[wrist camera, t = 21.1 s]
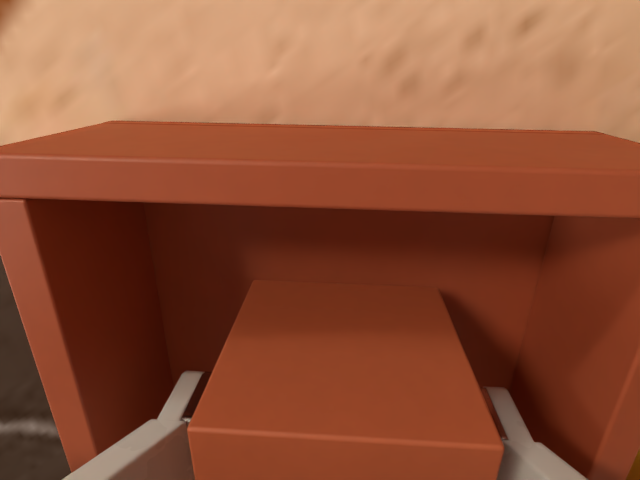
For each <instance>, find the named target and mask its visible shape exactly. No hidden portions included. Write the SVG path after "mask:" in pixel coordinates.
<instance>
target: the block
mask: <svg viewBox="0 0 640 480" xmlns="http://www.w3.org/2000/svg"><path fill="white" fill-rule="evenodd" d="M187 433H188V439H189V446H190V452H191V458H192V465H193V471H194V477H195V480H497V476H498V473H499V469H500V465H501V461H502V457H503V454H504V445H503V442H502V440H501V438H500V435H499V433H498V430H497V428H496V426H495V423H494V421H493V418H492V416H491V414H490V411H489V409H488V406H487V404H486V402H485V399H484V397H483V394H482V392H481V390H480V387H479V385H478V382H477V380H476V378H475V375H474V373H473V370H472V368H471V365H470V363H469V361H468V358H467V356H466V353H465V351H464V349H463V346H462V344H461V341H460V339H459V337H458V334H457V332H456V329H455V327H454V325H453V322H452V320H451V317H450V315H449V313H448V310H447V308H446V305H445V303H444V301H443V298H442V296H441V293H440V291H439V289H438V288H436V287H415V286H390V285H365V284H341V283H316V282H291V281H266V280H254V281H253V282H252V284H251V286H250V289H249V291H248V293H247V295H246V298H245V300H244V302H243V304H242V307H241V309H240V311H239V313H238V316H237V318H236V320H235V322H234V325H233V327H232V329H231V331H230V333H229V336H228V338H227V340H226V342H225V345H224V347H223V349H222V351H221V354H220V356H219V358H218V360H217V363H216V365H215V367H214V369H213V372H212V374H211V376H210V378H209V381H208V383H207V385H206V387H205V390H204V392H203V394H202V396H201V398H200V401H199V403H198V405H197V407H196V410H195V412H194V414H193V416H192V419H191V421H190V423H189V425H188V428H187Z"/></svg>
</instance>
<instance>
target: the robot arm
mask: <svg viewBox="0 0 640 480" xmlns="http://www.w3.org/2000/svg"><path fill="white" fill-rule="evenodd" d="M211 374H212V372H206V371H205V372H201V371H188V370H186V371H185V372H184V373H182V374H181V376H180V378H179V380H178V382H177V384H176V385H175V387H174V389H173V391H172V393H171V395H170V396H169V398H168V400H167V402H166V404H165V405H164V407H163V409H162V411H161V413H160V415H159V416H158V418H157V419H151V420H149V421H148V422H146V423H145V424H143V425H142V426H140V427H139V428H137V429H136V430H134V431H133V432H131V433H130V434H128V435H127V436H125V437H124V438H123V439H121V440H120V441H118V442H117V443H115V444H114V445H112V446H111V447H109V448H108V449H106V450H105V451H103V452H102V453H100V454H99V455H97V456H96V457H95V458H93V459H92V460H90V461H89V462H87V463H86V464H84V465H83V466H81V467H80V468H78V469H77V470H75V471H74V472H72V473H71V474H69V475H68V476H67V477H65V478H64V479H62V480H195V477H194V471H193V465H192V458H191V452H190V446H189V439H188V433H187V428H188V425H189V423H190V421H191V419H192V416H193V414H194V412H195V410H196V407H197V405H198V403H199V401H200V398H201V396H202V394H203V392H204V390H205V387H206V385H207V383H208V381H209V378H210V376H211ZM480 390H481V392H482V394H483V397H484V399H485V402H486V404H487V406H488V409H489V411H490V414H491V416H492V418H493V421H494V423H495V426H496V428H497V430H498V433H499V435H500V438H501V440H502V442H503V445H504V454H503V457H502V461H501V465H500V469H499V473H498V476H497V480H588V479H587V478H586V477H584V476H583V475H582V474H580V473H579V472H578V471H577V470H575V469H574V468H573V467H571V466H570V465H569V464H568V463H566V462H565V461H564V460H562V459H561V458H560V457H559V456H557V455H556V454H555V453H554V452H552V451H551V450H550V449H548V448H547V447H546V446H545V445H543V444H542V443H539V442H534V441H533V439H532V437H531V435H530V433H529V431H528V429H527V427H526V425H525V423H524V421H523V419H522V417H521V415H520V413H519V411H518V409H517V407H516V405H515V403H514V401H513V399H512V398H511V396H510V394H509V392H508V390H507V389H506V388H504V387H480Z"/></svg>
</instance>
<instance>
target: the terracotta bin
mask: <svg viewBox="0 0 640 480" xmlns="http://www.w3.org/2000/svg"><path fill="white" fill-rule="evenodd" d="M0 255H1V258H2V261H3V264H4V267H5V270H6V273H7V276H8V279H9V283H10V286H11V289H12V292H13V295H14V298H15V301H16V304H17V307H18V310H19V313H20V316H21V319H22V322H23V325H24V328H25V332H26V335H27V338H28V341H29V344H30V347H31V350H32V353H33V356H34V359H35V362H36V365H37V368H38V371H39V374H40V378H41V381H42V384H43V387H44V390H45V393H46V396H47V399H48V402H49V405H50V408H51V411H52V414H53V417H54V420H55V423H56V427H57V430H58V433H59V436H60V439H61V442H62V445H63V448H64V451H65V454H66V457H67V460H68V463H69V466H70V469H71V473H72V472H74V471H75V470H77V469H78V468H80V467H81V466H83V465H84V464H86V463H87V462H89V461H90V460H92V459H93V458H95V457H96V456H97V455H99V454H100V453H102V452H103V451H105V450H106V449H108V448H109V447H111V446H112V445H114V444H115V443H117V442H118V441H120V440H121V439H123V438H124V437H125V436H127V435H128V434H130V433H131V432H133V431H134V430H136V429H137V428H139V427H140V426H142V425H143V424H145V423H146V422H148V421H149V420H151V419H157V418H158V416H159V415H160V413H161V411H162V409H163V407H164V405H165V404H166V402H167V400H168V398H169V396H170V395H171V393H172V391H173V389H174V387H175V385H176V384H177V382H178V380H179V378H180V376H181V374H182V373H184V372H185V371H186V370H188V371H201V372H205V371H206V372H213V369H214V367H215V365H216V363H217V360H218V358H219V356H220V354H221V351H222V349H223V347H224V345H225V342H226V340H227V338H228V336H229V333H230V331H231V329H232V327H233V325H234V322H235V320H236V318H237V316H238V313H239V311H240V309H241V307H242V304H243V302H244V300H245V298H246V295H247V293H248V291H249V289H250V286H251V284H252V282H253V281H254V280H266V281H291V282H316V283H341V284H365V285H390V286H415V287H436V288H438V289H439V291H440V293H441V296H442V298H443V301H444V303H445V305H446V308H447V310H448V313H449V315H450V317H451V320H452V322H453V325H454V327H455V329H456V332H457V334H458V337H459V339H460V341H461V344H462V346H463V349H464V351H465V353H466V356H467V358H468V361H469V363H470V365H471V368H472V370H473V373H474V375H475V378H476V380H477V382H478V385H479V387H504V388H506V389H507V390H508V392H509V394H510V396H511V398H512V399H513V401H514V403H515V405H516V407H517V409H518V411H519V413H520V415H521V417H522V419H523V421H524V423H525V425H526V427H527V429H528V431H529V433H530V435H531V437H532V439H533V441H534V442H539V443H542V444H543V445H545V446H546V447H547V448H548V449H550V450H551V451H552V452H554V453H555V454H556V455H557V456H559V457H560V458H561V459H562V460H564V461H565V462H566V463H568V464H569V465H570V466H571V467H573V468H574V469H575V470H577V471H578V472H579V473H580V474H582V475H583V476H584V477H586V478H587V479H588V480H626V478H627V476H628V473H629V471H630V469H631V467H632V464H633V462H634V460H635V458H636V456H637V453H638V451H639V449H640V143H637V142H633V141H629V140H625V139H621V138H617V137H613V136H610V135H606V134H603V133H599V132H595V131H550V130H505V129H460V128H415V127H370V126H325V125H280V124H235V123H190V122H145V121H109V122H104V123H101V124H97V125H92V126H88V127H83V128H79V129H74V130H70V131H66V132H61V133H57V134H52V135H48V136H43V137H39V138H34V139H30V140H25V141H21V142H16V143H12V144H7V145H3V146H0Z"/></svg>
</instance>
